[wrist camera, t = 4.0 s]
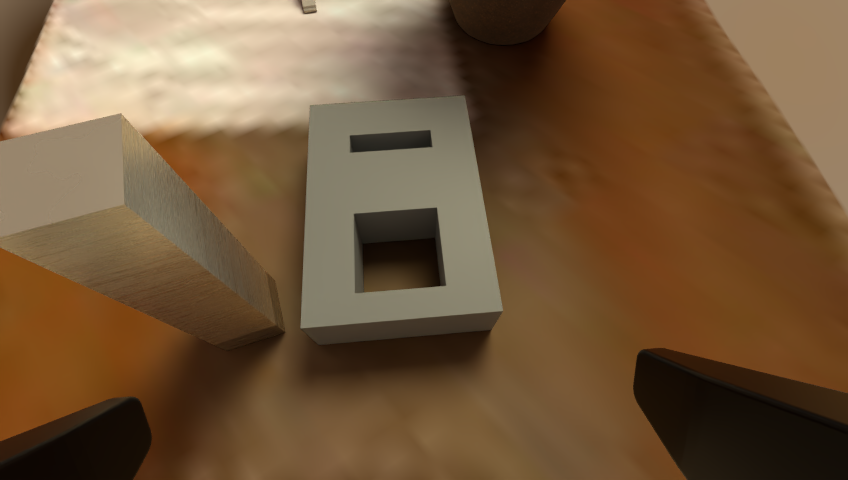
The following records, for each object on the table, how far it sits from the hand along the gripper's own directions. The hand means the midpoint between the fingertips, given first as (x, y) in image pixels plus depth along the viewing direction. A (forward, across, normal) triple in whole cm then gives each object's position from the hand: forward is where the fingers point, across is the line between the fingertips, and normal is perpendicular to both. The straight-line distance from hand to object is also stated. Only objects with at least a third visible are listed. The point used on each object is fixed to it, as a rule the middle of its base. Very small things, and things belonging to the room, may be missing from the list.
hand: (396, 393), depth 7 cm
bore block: (+17, 0, -2) cm, 17 cm away
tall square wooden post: (+14, -8, -5) cm, 17 cm away
